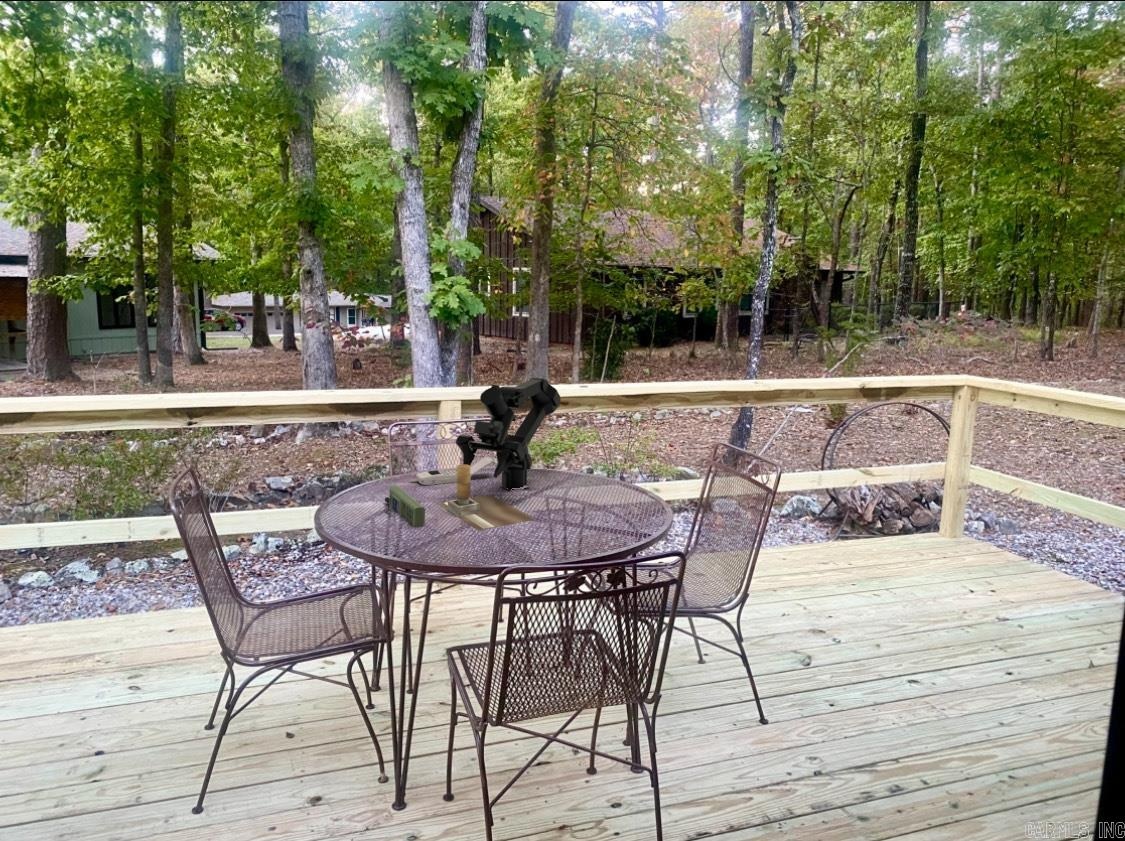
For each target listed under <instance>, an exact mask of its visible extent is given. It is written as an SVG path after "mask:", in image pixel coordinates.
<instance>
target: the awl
mask: <svg viewBox="0 0 1125 841" xmlns="http://www.w3.org/2000/svg"><path fill="white" fill-rule="evenodd" d="M470 467H471V465H466V464H463V463H462V464H457V465H456V470H457V482H456V498H457V499H458V506H463V505H469V498H471V480H470Z"/></svg>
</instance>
